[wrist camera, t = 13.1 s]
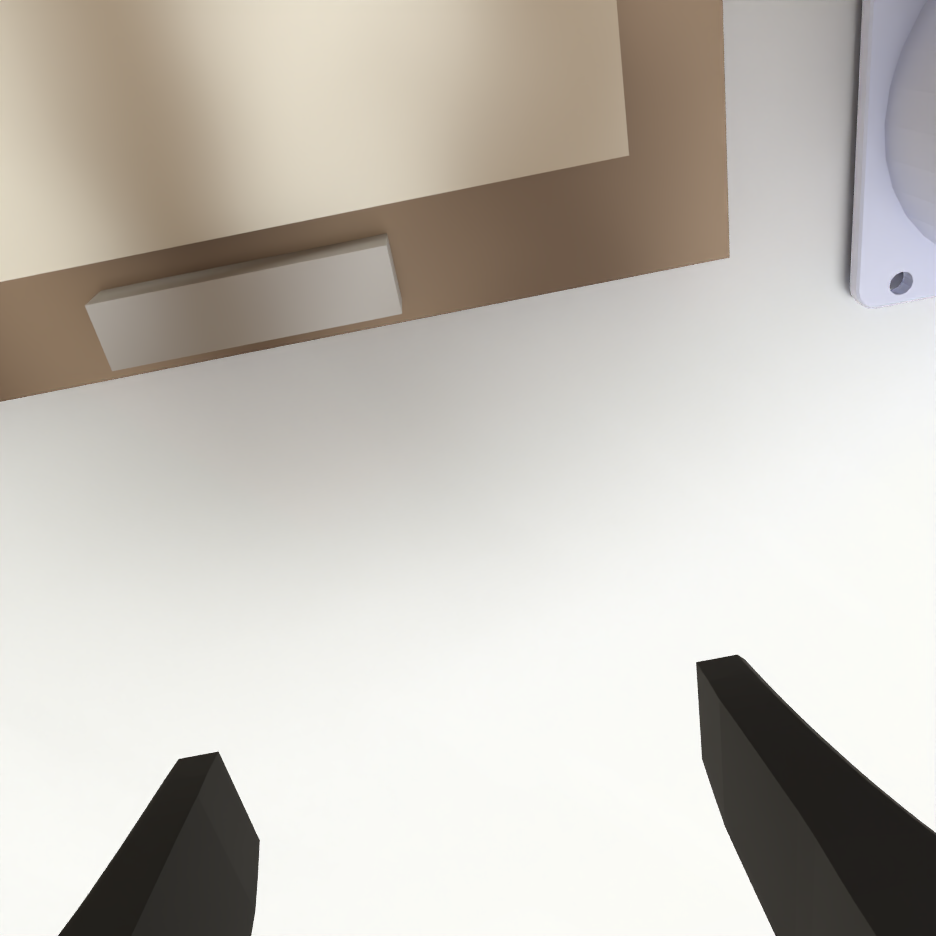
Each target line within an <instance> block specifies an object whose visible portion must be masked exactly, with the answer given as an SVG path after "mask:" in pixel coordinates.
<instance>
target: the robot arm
mask: <svg viewBox="0 0 936 936" xmlns="http://www.w3.org/2000/svg"><path fill="white" fill-rule="evenodd" d="M900 272H903V274H904V277H903V280H902V283H901V284H900V285H899V286H898V287H896V288H894V289H892V290H890V282H891V280H892V278H893V277H894V276H895V275H896V274H898V273H900ZM850 292H851V296H852V297H853V298H854V300H855V301H856V302H858V303H859V304H861V305H863V306H865V307H867V308H880V307H886V306H891V305H896V304H901V303H906V302H911V301H916V300H921V299H926V298H932V297H936V0H863V1H862V24H861V46H860V69H859V91H858V114H857V137H856V159H855V182H854V204H853V227H852V250H851V272H850ZM696 666H697V682H698V699H699V715H700V731H701V747H702V760H703V763H704V766H705V769H706V772H707V775H708V778H709V781H710V784H711V787H712V790H713V793H714V796H715V799H716V802H717V805H718V808H719V810H720V813H721V816H722V819H723V822H724V825H725V827H726V829H727V832H728V834H729V836H730V838H731V841H732V843H733V845H734V847H735V849H736V851H737V854H738V856H739V858H740V860H741V862H742V864H743V867H744V869H745V871H746V873H747V875H748V877H749V880H750V882H751V884H752V886H753V888H754V890H755V893H756V895H757V897H758V899H759V901H760V903H761V905H762V908H763V910H764V912H765V914H766V916H767V918H768V920H769V923H770V925H771V927H772V929H773V931H774V933H775V935H776V936H936V833H935V832H934V831H933V830H931V829H930V828H929V827H927V826H926V825H925V824H923V823H922V822H921V821H920V820H918V819H917V818H916V817H915V816H913V815H912V814H911V813H909V812H908V811H907V810H906V809H904V808H903V807H902V806H901V805H900V804H898V803H897V802H896V801H895V800H893V799H892V798H891V797H890V796H889V795H887V794H886V793H885V792H884V791H882V790H881V789H880V788H879V787H878V786H876V785H875V784H874V783H873V782H872V781H870V780H869V779H868V778H867V777H866V776H865V775H863V774H862V773H861V772H860V771H859V770H858V769H857V768H855V767H854V766H853V765H852V764H851V763H850V762H849V761H848V760H846V759H845V758H844V757H843V756H842V755H841V754H840V753H839V752H838V751H837V750H835V749H834V748H833V747H832V746H831V745H830V744H829V743H828V742H827V741H825V740H824V739H823V738H822V737H821V736H820V735H819V734H818V733H817V732H816V731H815V730H814V729H813V728H811V727H810V726H809V725H808V724H807V723H806V722H805V721H804V720H803V719H802V718H801V717H800V716H799V715H798V714H797V713H796V712H795V711H794V710H793V709H792V708H791V707H790V706H789V705H788V704H787V703H786V702H785V701H784V700H783V699H782V698H781V697H780V696H779V695H778V694H777V693H776V692H775V691H774V690H773V689H772V688H771V687H770V686H769V685H768V684H767V683H766V682H765V681H764V680H763V679H762V677H761V676H760V675H759V674H758V673H757V672H756V671H755V670H754V669H753V668H752V667H751V666H750V665H749V664H748V662H747V661H746V660H745V659H743V658H742V657H740V656H739V655H733V656H728V657H722V658H717V659H712V660H706V661H701V662H696ZM259 842H260V840H259V838H258V836H257V834H256V832H255V830H254V827H253V825H252V823H251V821H250V819H249V817H248V814H247V812H246V810H245V808H244V806H243V804H242V801H241V799H240V797H239V795H238V793H237V791H236V788H235V786H234V784H233V782H232V780H231V778H230V775H229V773H228V771H227V769H226V767H225V765H224V762H223V760H222V758H221V756H220V754H219V752H214V753H209V754H203V755H198V756H193V757H187V758H182V759H179V760H178V761H177V762H176V764H175V765H174V767H173V768H172V770H171V771H170V773H169V774H168V776H167V777H166V779H165V780H164V782H163V783H162V785H161V786H160V788H159V789H158V791H157V792H156V794H155V795H154V797H153V798H152V800H151V801H150V803H149V805H148V806H147V808H146V809H145V811H144V812H143V814H142V815H141V817H140V818H139V820H138V821H137V823H136V824H135V826H134V827H133V829H132V831H131V832H130V834H129V835H128V837H127V838H126V840H125V841H124V843H123V844H122V846H121V847H120V849H119V850H118V852H117V853H116V855H115V856H114V857H113V859H112V860H111V862H110V863H109V865H108V866H107V868H106V869H105V871H104V872H103V874H102V875H101V876H100V878H99V879H98V881H97V882H96V884H95V885H94V887H93V888H92V890H91V891H90V893H89V894H88V895H87V897H86V898H85V900H84V901H83V903H82V904H81V905H80V907H79V908H78V910H77V911H76V912H75V914H74V915H73V916H72V918H71V919H70V920H69V922H68V923H67V924H66V926H65V927H64V928H63V930H62V931H61V933H60V934H59V935H58V936H251V933H252V927H253V921H254V915H255V907H256V894H257V881H258V862H259Z"/></svg>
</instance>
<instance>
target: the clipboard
mask: <svg viewBox="0 0 936 936" xmlns="http://www.w3.org/2000/svg"><path fill="white" fill-rule="evenodd" d="M724 258H729V221H728V184H727V148H726V111H725V74H724V37H723V1H722V0H0V402H1V401H6V400H11V399H16V398H21V397H27V396H32V395H37V394H42V393H47V392H52V391H57V390H62V389H67V388H72V387H77V386H82V385H87V384H92V383H97V382H102V381H107V380H112V379H117V378H123V377H128V376H133V375H138V374H143V373H148V372H153V371H158V370H163V369H168V368H173V367H178V366H183V365H188V364H193V363H198V362H203V361H208V360H213V359H219V358H224V357H229V356H234V355H239V354H244V353H249V352H254V351H259V350H264V349H269V348H274V347H279V346H284V345H289V344H294V343H299V342H304V341H310V340H315V339H320V338H325V337H330V336H335V335H340V334H345V333H350V332H355V331H360V330H365V329H370V328H375V327H380V326H385V325H390V324H395V323H400V322H406V321H411V320H416V319H421V318H426V317H431V316H436V315H441V314H446V313H451V312H456V311H461V310H466V309H471V308H476V307H481V306H486V305H491V304H496V303H502V302H507V301H512V300H517V299H522V298H527V297H532V296H537V295H542V294H547V293H552V292H557V291H562V290H567V289H572V288H577V287H582V286H587V285H593V284H598V283H603V282H608V281H613V280H618V279H623V278H628V277H633V276H638V275H643V274H648V273H653V272H658V271H663V270H668V269H673V268H678V267H683V266H689V265H694V264H699V263H704V262H709V261H714V260H719V259H724Z"/></svg>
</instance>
